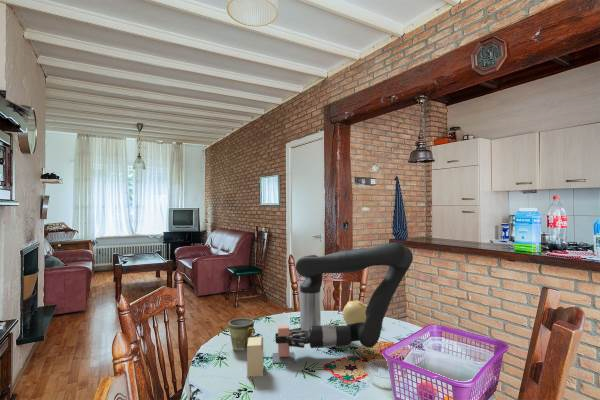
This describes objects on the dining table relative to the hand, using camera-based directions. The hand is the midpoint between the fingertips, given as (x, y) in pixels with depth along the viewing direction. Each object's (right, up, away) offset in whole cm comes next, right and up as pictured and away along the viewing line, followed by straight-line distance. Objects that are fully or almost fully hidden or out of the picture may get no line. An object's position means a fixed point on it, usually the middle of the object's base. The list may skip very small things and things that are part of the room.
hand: (275, 338), depth 121 cm
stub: (+3, -6, 0) cm, 7 cm away
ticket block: (-6, -7, -10) cm, 14 cm away
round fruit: (+35, -9, +37) cm, 52 cm away
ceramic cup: (-13, -8, +9) cm, 18 cm away
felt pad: (+3, -7, 0) cm, 8 cm away
